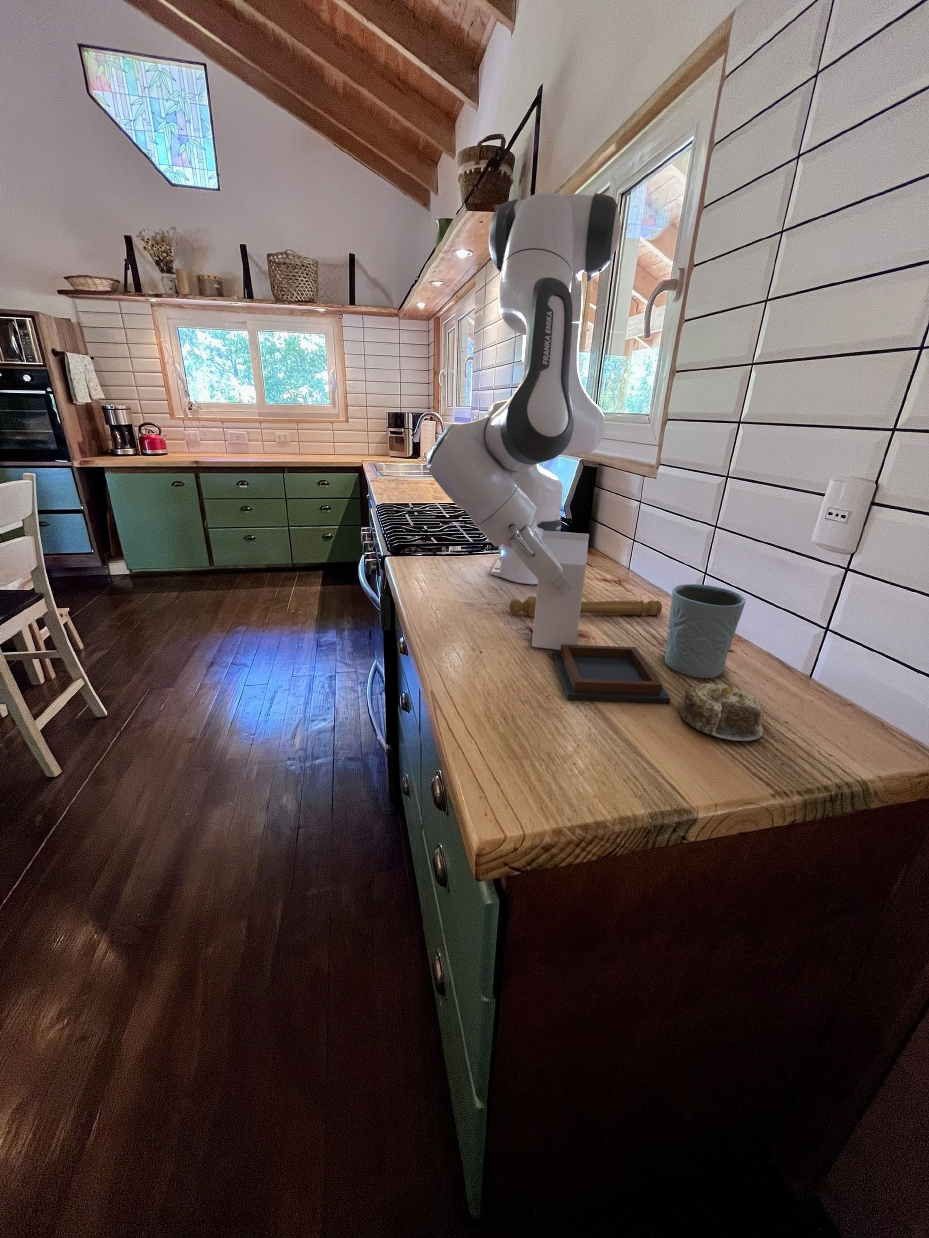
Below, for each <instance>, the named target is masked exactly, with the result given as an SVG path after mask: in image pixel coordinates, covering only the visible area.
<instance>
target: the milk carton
mask: <svg viewBox="0 0 929 1238" xmlns="http://www.w3.org/2000/svg"><path fill="white" fill-rule="evenodd" d="M589 539H590V534H589V533H577V532H567V531H560V532H555V531H543V541H544V543H545V544H546V545H547V546H548V547H549V548H550V550H551V551H552V552H553V553H554V555H555V557H556V558H557V560H558V562H559V564H560V565H561V567H562V569H563V571H562V574H563V575H564V576H565V577H566V578H567V579H568V581H569V582H570V583H571V584H572V586H573V589H572V590H571V591H570V592H569V593H568V594H564V593H563V592H562V591H561V590H560V589H559V588H558V587H557V586H555V585H554V584H552V583H551V582H550V583H549V584H547V585H544V584H543V583H541V582H540V581H539V580H538V584H536V596H535V597H536V606H535V616H534V617H533V628H532V640H531V647H533V648H541V649H549V650H560V649H561V644H564V645H577V638H578V630H579V623H580V615H581V613H580V608H581V602H583V601H582V599H583V593H584V585H585V578H586V569H587V561H588V549H589Z"/></svg>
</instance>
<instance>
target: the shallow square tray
mask: <svg viewBox="0 0 929 1238" xmlns="http://www.w3.org/2000/svg"><path fill="white" fill-rule="evenodd" d="M552 657H553V660H554V663H555V666H556V669H557V673H558V675H559V679H560V682H561V684H562V687H563V691H564V693H565V696H566V699H567V700H568V701H591V702H592V701H593V702H617V703H618V702H621V703H622V702H624V703H627V702H628V703H646V704H647V703H652V704H670V702H671V698H670V695H669V694H668V693H667V691H666V690H665V688H664V687H663V683H662V682H661V680H660V679H659V678H658V677H657V675H656V673H655V672H654V671H653V669H652V668H651V666H650V665H649V663H648V662H647V661H646V659H645V658H644V657H643V655H642V653H641V652H640V650H639V649H638V648H637V647H636V646H617V645H590V644H589V645H588V644H576V645H564V644H561V649H560V650H556V649H552Z"/></svg>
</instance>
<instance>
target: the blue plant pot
mask: <svg viewBox="0 0 929 1238" xmlns="http://www.w3.org/2000/svg"><path fill="white" fill-rule="evenodd" d="M745 604H746V599H745V598H744V596H743V595H741V594H740V593H737V592H736V591H733V590H730V589H726V588H723V587H719V586H713V585H708V584H707V585H706V584H697V583H696V584H695V583H689V584H686V583H685V584H679V585H676V586H674V587H673V588H672V592H671V603H670V610H669V618H668V626H667V627H668V631H667V636H666V646H665V655H664V663H665V665H667V667H668V668H670V669H672V670H673V671H675V672H677V673H680V674H682V675H685V676H689V677H693V678H697V679H698V678H699V679H713V678H717V677H719V676H720V675H721V674H722V673H723V672H724V669H725V667H726V666H725V665H726V660H727V658H728V655H729V652H730V649H731V646H732V643H733V639H734V637H735V634H736V631H737V627H738V624H739V622H740V619H741V616H742V614H743V610H744V607H745Z"/></svg>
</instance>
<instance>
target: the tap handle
mask: <svg viewBox="0 0 929 1238" xmlns="http://www.w3.org/2000/svg"><path fill="white" fill-rule="evenodd" d="M535 606H536V596H528V597H527V598H526V600H524V601H522V602H521V600H520V599H517V598H515V599H512V600H511V601H510V602H509V603H508V609H509V611H510V613H511V614H513V615H518V614H520V613H521V612H523V613H524V614H526V616H528V617H530V618H534V616H535ZM662 611H663V605H662V602H661V601H660V600H648V601H646V602H645V601H644V600H641V599H640V600H636V599H635V600H630V599H629V600H602V601H601V600H600V601H599V600H598V601H581V608H580V614H581V613H582V614H584V613H585V614H603V615H604V614H606V615H607V614H608V615H629V616H637V615H640V616H643V615H644V614H647V615H649V616H655V615H656V616H658V615H661V614H662Z"/></svg>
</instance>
